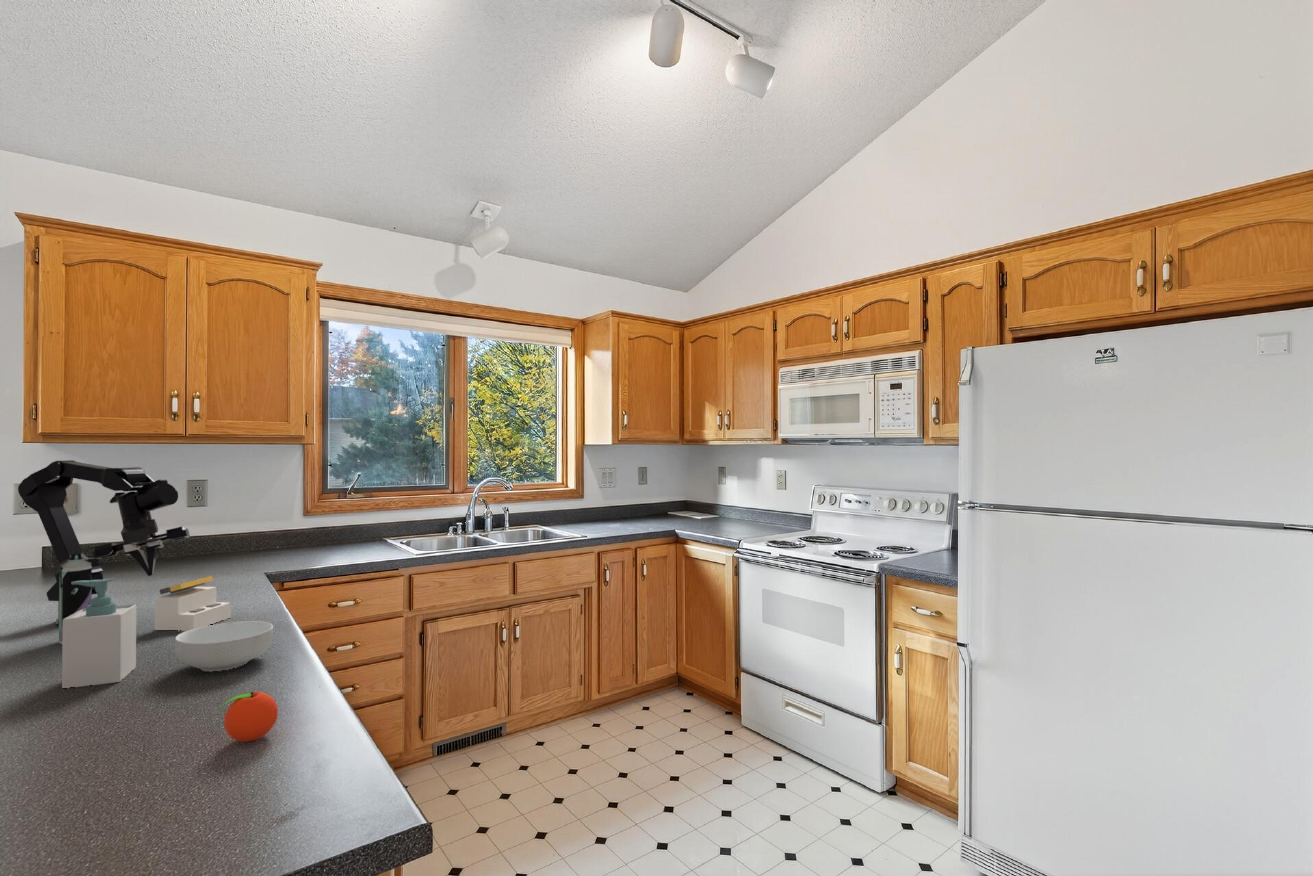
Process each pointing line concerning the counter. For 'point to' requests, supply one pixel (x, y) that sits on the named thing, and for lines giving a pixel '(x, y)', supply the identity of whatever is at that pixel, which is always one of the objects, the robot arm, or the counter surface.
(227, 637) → the cereal bowl
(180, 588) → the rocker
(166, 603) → the stepped slotted block
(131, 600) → the counter surface
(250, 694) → the clementine
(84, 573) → the spray can
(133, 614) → the soap bottle
